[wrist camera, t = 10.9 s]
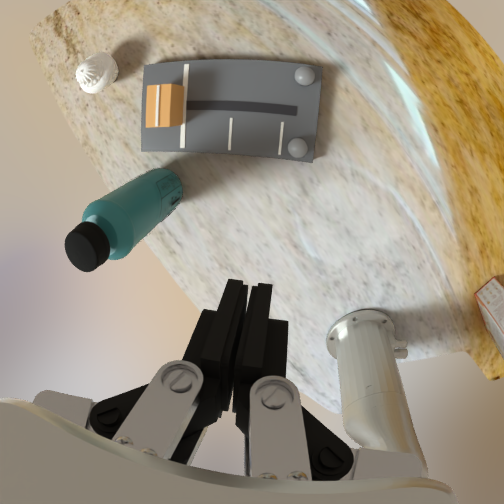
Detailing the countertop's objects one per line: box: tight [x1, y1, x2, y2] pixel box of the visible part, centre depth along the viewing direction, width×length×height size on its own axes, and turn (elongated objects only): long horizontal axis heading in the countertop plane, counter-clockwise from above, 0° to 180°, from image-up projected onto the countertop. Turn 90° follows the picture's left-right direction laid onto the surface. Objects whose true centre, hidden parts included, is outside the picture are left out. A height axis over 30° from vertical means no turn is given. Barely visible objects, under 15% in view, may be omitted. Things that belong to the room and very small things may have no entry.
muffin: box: [75, 52, 119, 93], centre depth 27 cm, size 6×6×7 cm
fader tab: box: [146, 84, 184, 128], centre depth 28 cm, size 3×5×4 cm, turn 176°
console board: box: [141, 59, 323, 163], centre depth 30 cm, size 22×12×4 cm, turn 86°
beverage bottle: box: [65, 168, 183, 272], centre depth 29 cm, size 6×7×20 cm
